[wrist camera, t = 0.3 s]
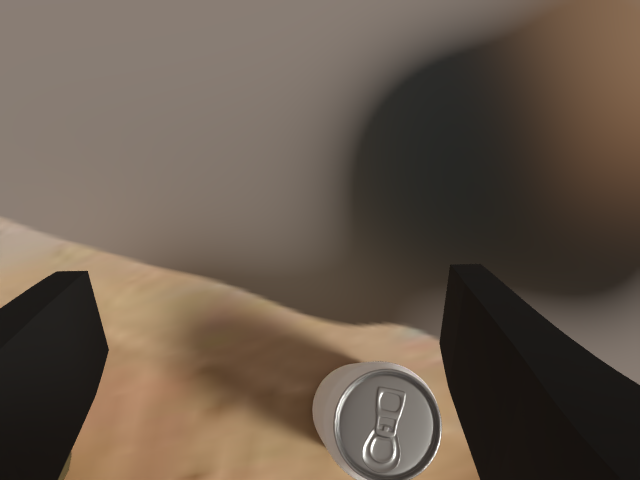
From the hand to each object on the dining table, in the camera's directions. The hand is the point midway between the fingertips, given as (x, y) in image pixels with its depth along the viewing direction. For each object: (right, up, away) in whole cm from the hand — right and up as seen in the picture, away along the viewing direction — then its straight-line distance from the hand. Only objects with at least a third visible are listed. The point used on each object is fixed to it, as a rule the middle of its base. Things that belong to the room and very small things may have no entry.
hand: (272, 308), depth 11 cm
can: (+4, -11, +29) cm, 31 cm away
